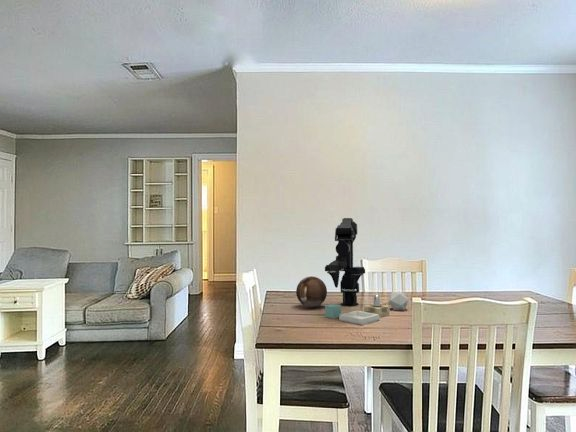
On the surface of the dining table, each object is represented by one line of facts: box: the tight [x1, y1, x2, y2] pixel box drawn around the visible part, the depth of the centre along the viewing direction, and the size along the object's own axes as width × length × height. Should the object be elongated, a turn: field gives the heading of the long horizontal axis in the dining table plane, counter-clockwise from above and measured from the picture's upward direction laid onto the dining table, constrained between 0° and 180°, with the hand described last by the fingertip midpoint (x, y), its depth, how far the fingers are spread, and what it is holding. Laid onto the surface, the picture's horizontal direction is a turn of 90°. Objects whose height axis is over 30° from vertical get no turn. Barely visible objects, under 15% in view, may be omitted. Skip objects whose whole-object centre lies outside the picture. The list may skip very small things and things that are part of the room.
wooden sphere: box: [295, 276, 328, 308], centre depth 230 cm, size 15×15×15 cm
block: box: [324, 303, 342, 319], centre depth 209 cm, size 5×5×5 cm
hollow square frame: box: [363, 303, 390, 319], centre depth 212 cm, size 8×8×4 cm
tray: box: [338, 310, 380, 326], centre depth 201 cm, size 12×12×2 cm
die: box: [387, 291, 409, 311], centre depth 223 cm, size 8×9×10 cm
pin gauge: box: [373, 294, 381, 307], centre depth 212 cm, size 3×3×9 cm
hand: (344, 288), depth 210 cm, fingers open, 9 cm apart
